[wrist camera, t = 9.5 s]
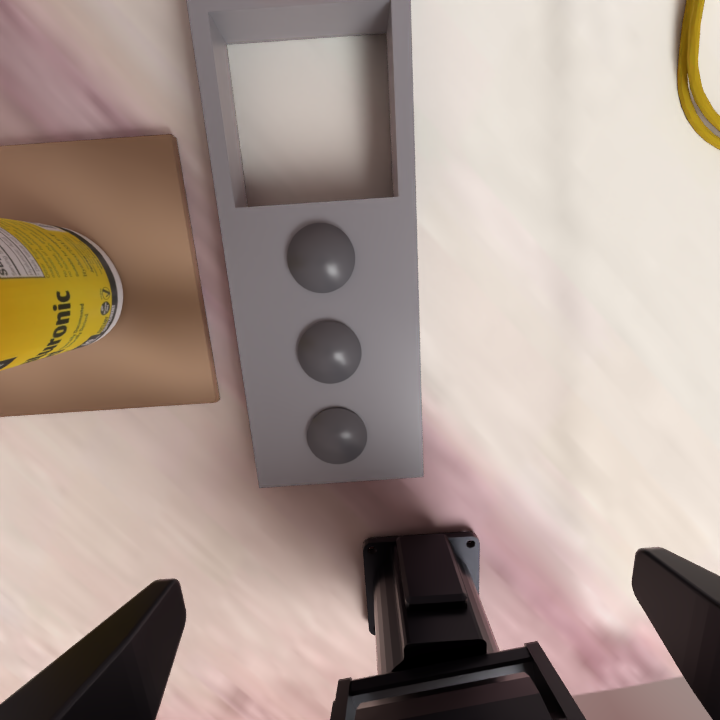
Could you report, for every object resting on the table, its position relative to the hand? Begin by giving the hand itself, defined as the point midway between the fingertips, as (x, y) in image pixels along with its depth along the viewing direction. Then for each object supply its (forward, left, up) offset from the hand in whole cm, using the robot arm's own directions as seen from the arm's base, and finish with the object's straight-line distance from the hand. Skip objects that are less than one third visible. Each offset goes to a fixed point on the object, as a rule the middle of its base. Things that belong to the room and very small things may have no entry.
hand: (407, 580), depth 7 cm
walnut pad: (+6, +14, -12) cm, 19 cm away
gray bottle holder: (+7, +2, -12) cm, 14 cm away
